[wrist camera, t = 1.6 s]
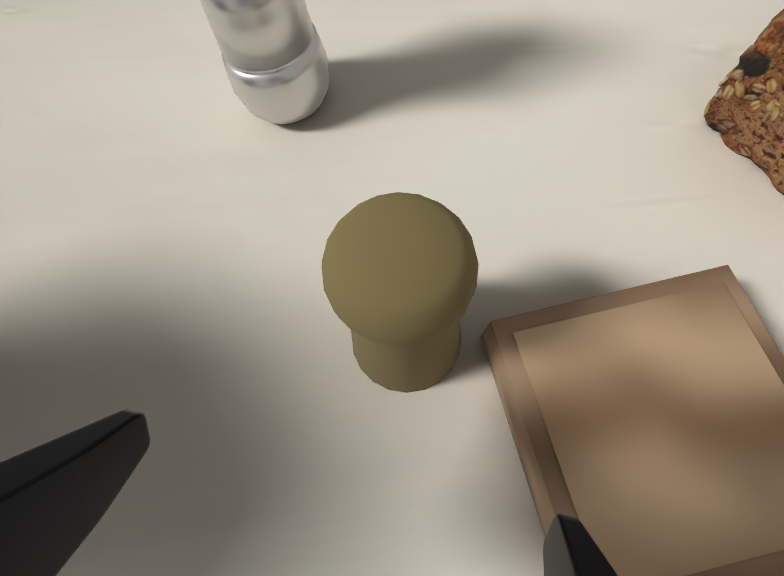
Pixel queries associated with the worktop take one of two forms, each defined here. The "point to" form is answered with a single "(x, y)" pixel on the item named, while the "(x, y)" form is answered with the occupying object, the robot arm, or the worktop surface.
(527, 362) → the plate
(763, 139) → the bread
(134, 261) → the worktop surface
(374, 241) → the cork
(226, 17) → the plastic bottle
